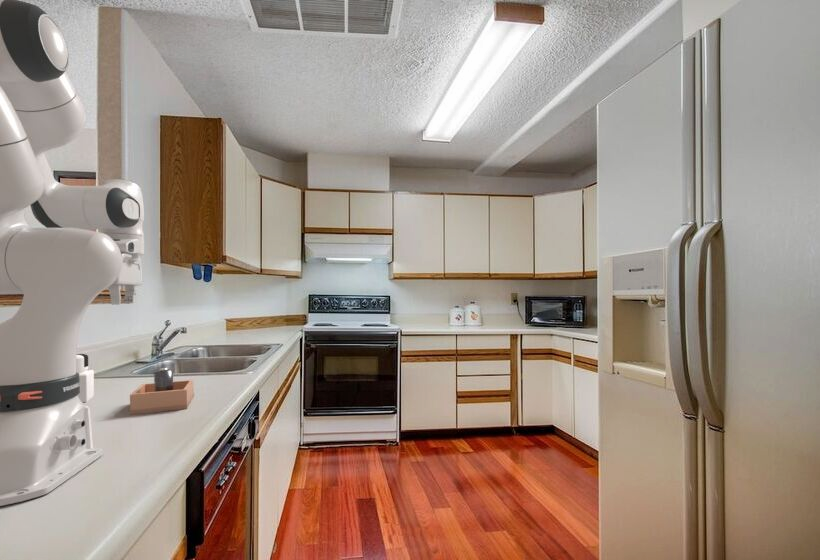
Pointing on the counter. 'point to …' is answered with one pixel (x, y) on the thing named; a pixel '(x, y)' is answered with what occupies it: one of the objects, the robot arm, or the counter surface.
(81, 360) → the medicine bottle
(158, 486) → the counter surface
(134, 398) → the tray
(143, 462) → the counter surface
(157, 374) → the battery cell
